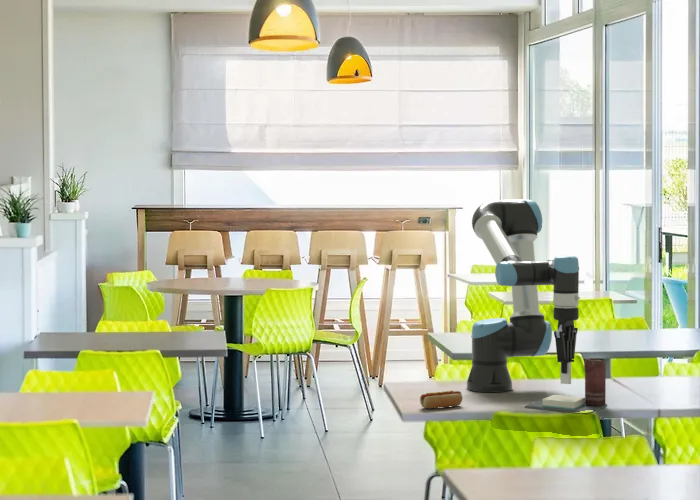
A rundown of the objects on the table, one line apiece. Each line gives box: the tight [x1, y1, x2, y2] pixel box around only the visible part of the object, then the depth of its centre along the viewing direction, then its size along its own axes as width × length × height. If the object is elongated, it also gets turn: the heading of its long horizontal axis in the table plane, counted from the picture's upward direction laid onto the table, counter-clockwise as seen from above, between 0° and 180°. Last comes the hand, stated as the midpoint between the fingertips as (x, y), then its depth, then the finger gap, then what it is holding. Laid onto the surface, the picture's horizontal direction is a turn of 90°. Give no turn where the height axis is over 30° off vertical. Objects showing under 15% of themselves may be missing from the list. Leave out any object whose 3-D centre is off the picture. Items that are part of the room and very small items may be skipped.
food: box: [419, 390, 463, 409], centre depth 327 cm, size 14×6×5 cm, turn 115°
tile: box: [542, 394, 585, 410], centre depth 325 cm, size 10×2×9 cm
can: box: [583, 358, 607, 407], centre depth 325 cm, size 6×6×14 cm
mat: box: [524, 397, 608, 413], centre depth 327 cm, size 20×16×1 cm
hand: (565, 383), depth 327 cm, fingers closed
